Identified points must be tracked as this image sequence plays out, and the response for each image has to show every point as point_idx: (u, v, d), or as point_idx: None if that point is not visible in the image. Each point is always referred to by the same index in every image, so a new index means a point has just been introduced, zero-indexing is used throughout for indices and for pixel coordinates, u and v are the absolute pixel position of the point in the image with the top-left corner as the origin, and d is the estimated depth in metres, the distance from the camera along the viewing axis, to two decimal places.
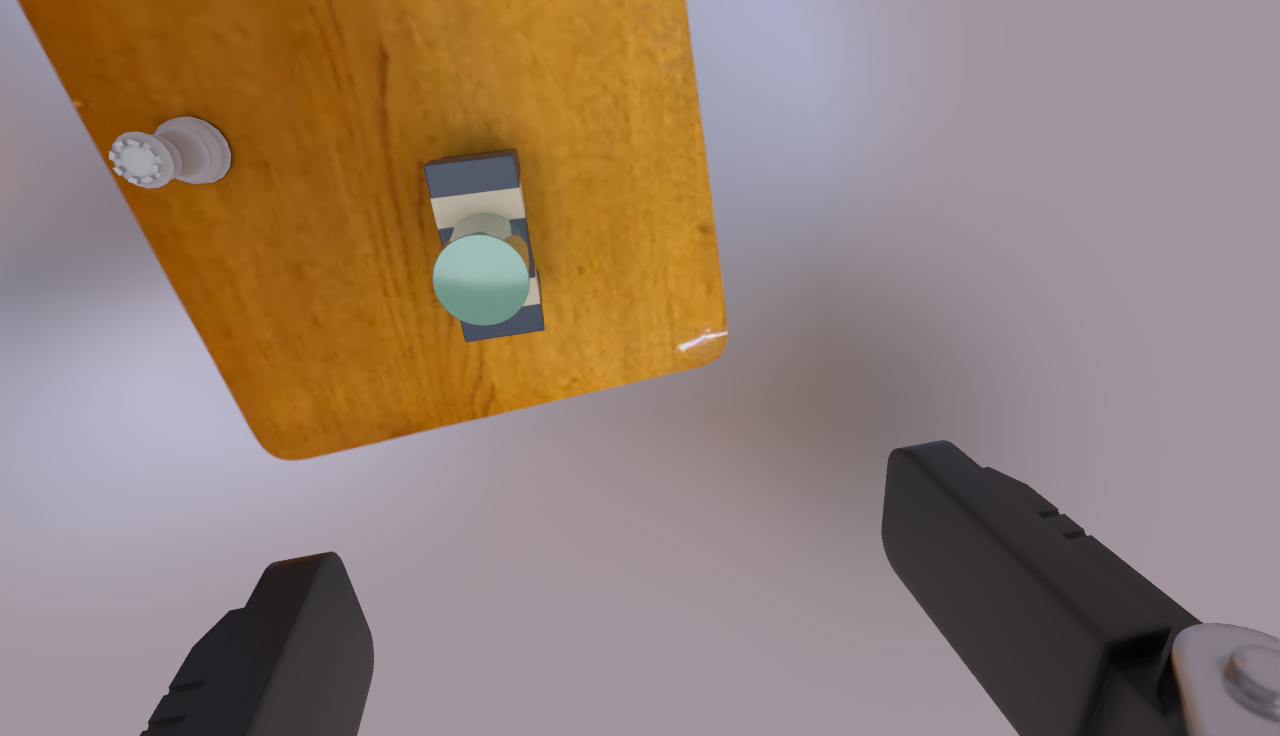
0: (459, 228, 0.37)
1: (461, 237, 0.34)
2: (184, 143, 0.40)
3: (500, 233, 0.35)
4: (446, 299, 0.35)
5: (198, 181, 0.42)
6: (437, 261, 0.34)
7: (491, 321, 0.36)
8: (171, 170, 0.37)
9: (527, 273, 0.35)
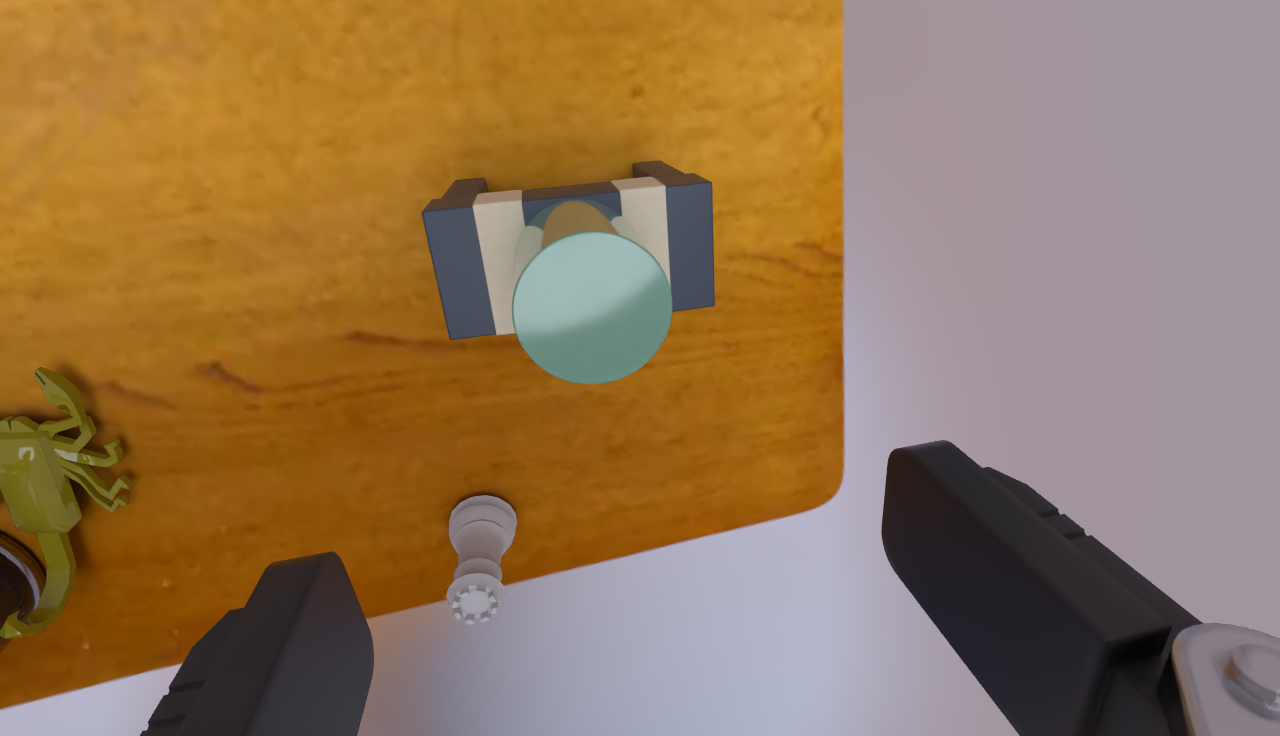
0: None
1: (518, 337, 0.20)
2: (466, 545, 0.37)
3: (519, 266, 0.21)
4: (621, 367, 0.21)
5: (511, 530, 0.40)
6: (558, 375, 0.21)
7: (666, 301, 0.21)
8: (484, 575, 0.35)
9: (582, 234, 0.19)
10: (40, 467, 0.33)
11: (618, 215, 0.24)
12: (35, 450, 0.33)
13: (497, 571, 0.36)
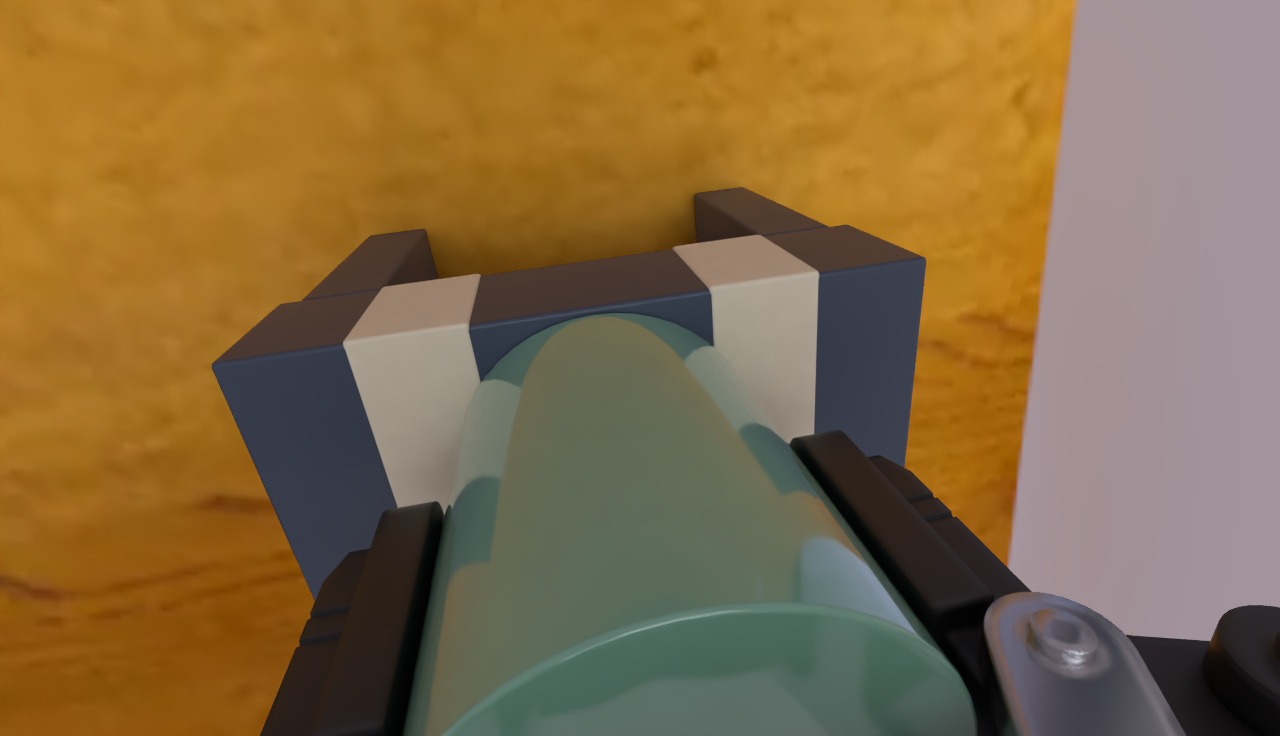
0: None
1: None
2: None
3: (426, 644, 0.06)
4: None
5: None
6: None
7: None
8: None
9: (669, 624, 0.04)
10: None
11: (715, 361, 0.09)
12: None
13: None
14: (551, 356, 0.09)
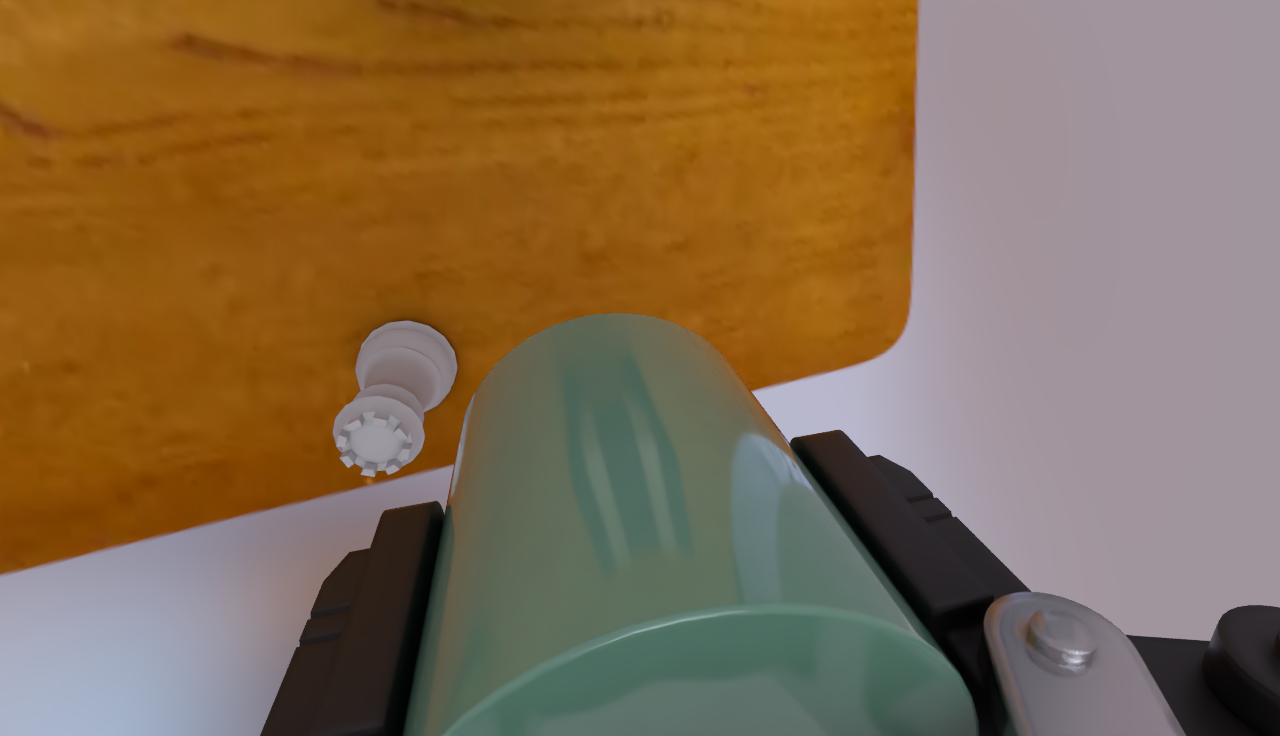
0: None
1: None
2: (372, 376, 0.25)
3: (426, 645, 0.06)
4: None
5: (446, 368, 0.28)
6: None
7: None
8: (389, 400, 0.23)
9: (669, 625, 0.04)
10: None
11: (716, 361, 0.09)
12: None
13: (415, 406, 0.24)
14: (551, 356, 0.09)
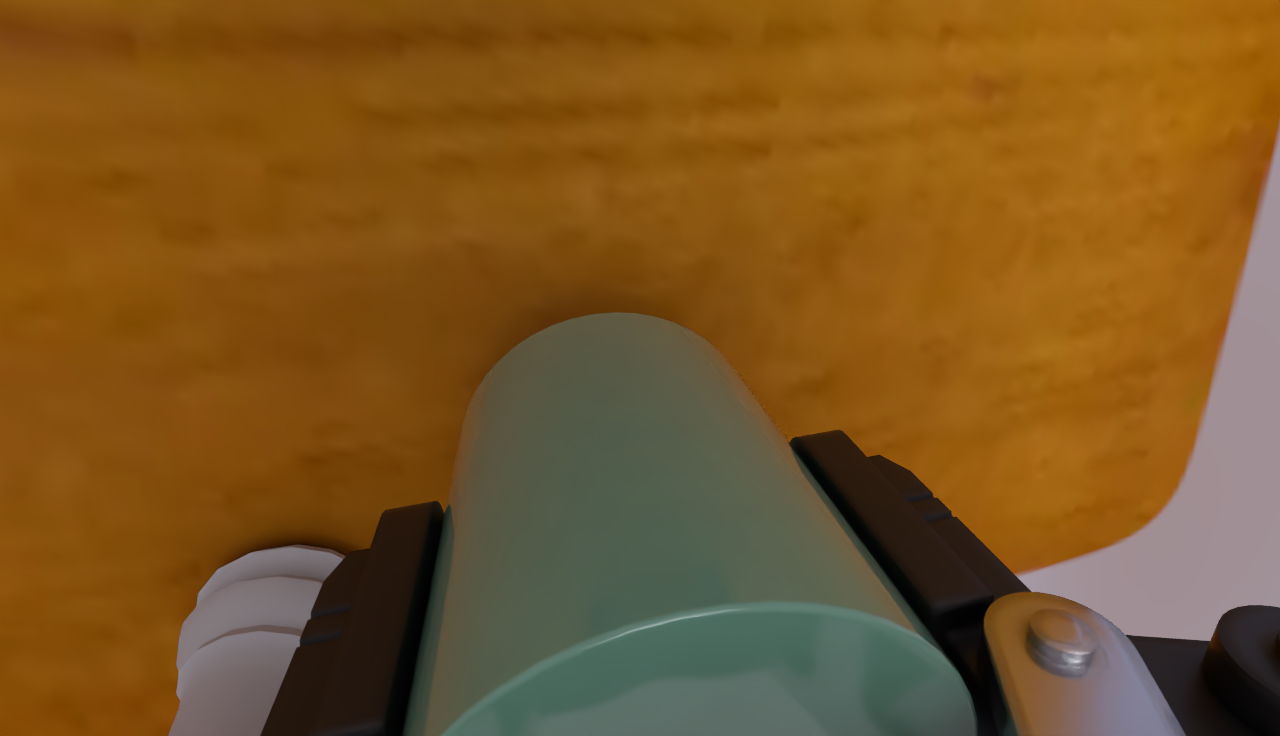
0: None
1: None
2: (181, 725, 0.11)
3: (426, 643, 0.06)
4: None
5: None
6: None
7: None
8: None
9: (669, 623, 0.04)
10: None
11: (715, 360, 0.09)
12: None
13: None
14: (551, 355, 0.09)
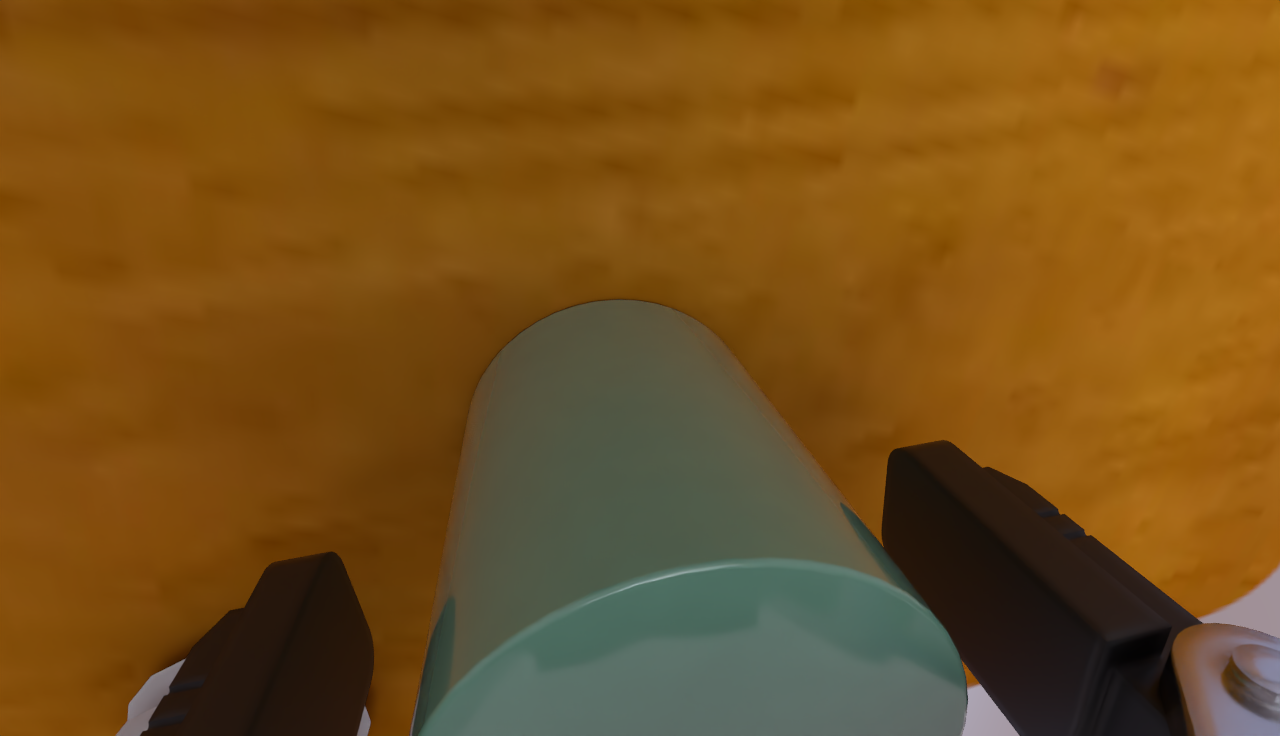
0: None
1: None
2: None
3: (439, 607, 0.06)
4: None
5: None
6: None
7: (947, 725, 0.06)
8: None
9: (672, 577, 0.05)
10: None
11: (716, 346, 0.10)
12: None
13: None
14: (556, 340, 0.09)
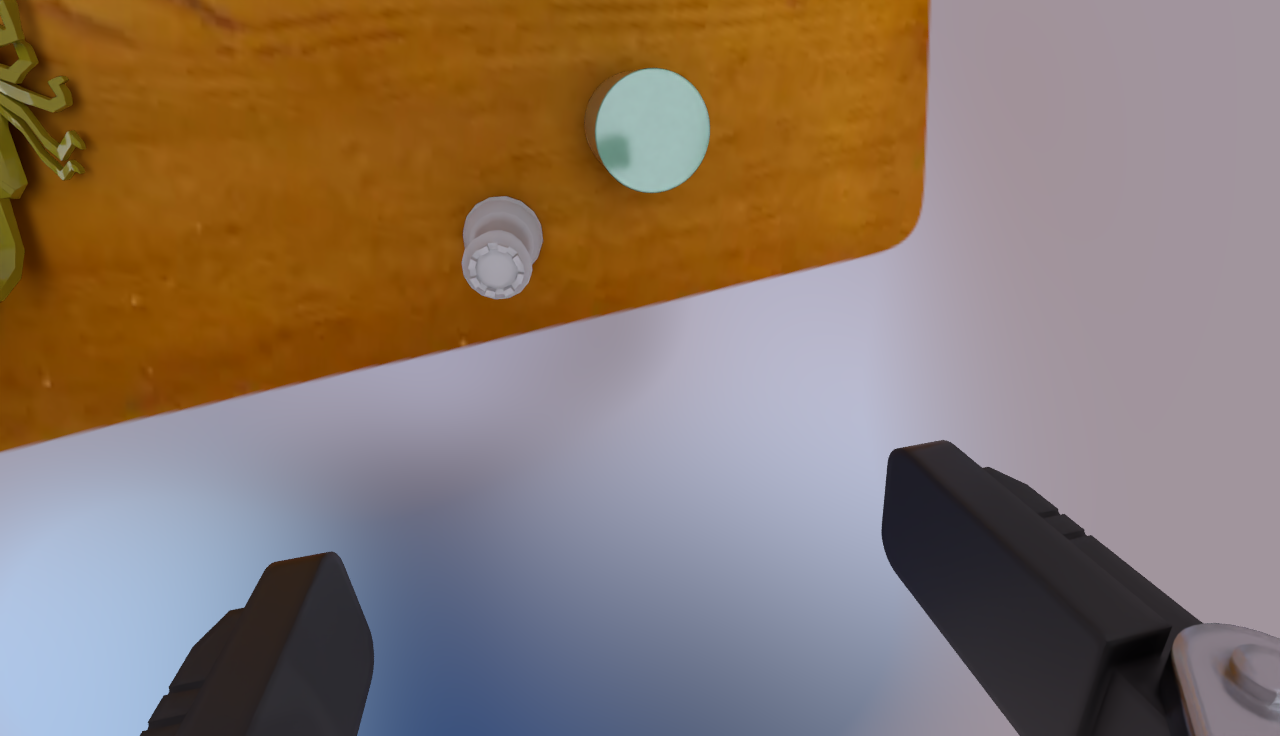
0: (595, 155, 0.31)
1: (598, 152, 0.28)
2: (484, 230, 0.31)
3: (598, 103, 0.29)
4: (672, 179, 0.29)
5: (537, 235, 0.34)
6: (626, 184, 0.29)
7: (705, 125, 0.28)
8: (507, 236, 0.28)
9: (646, 70, 0.27)
10: None
11: None
12: None
13: None
14: (617, 74, 0.32)
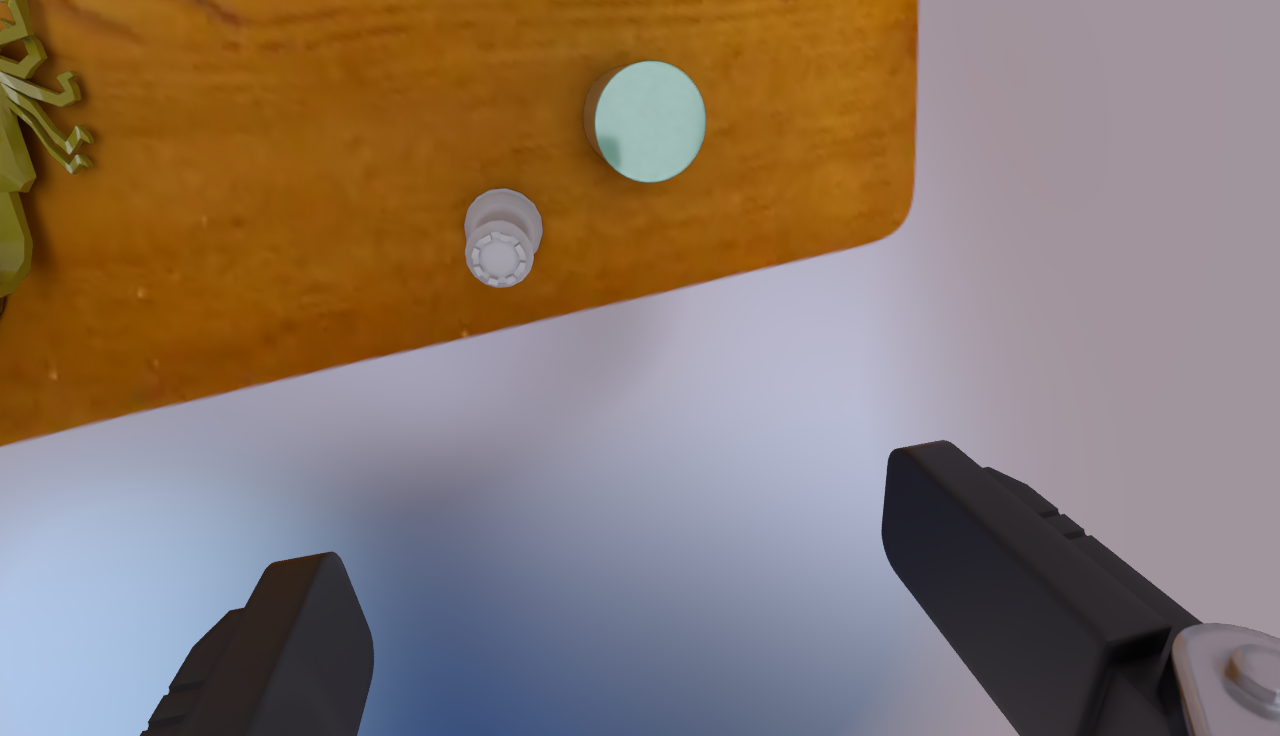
0: (594, 147, 0.32)
1: (598, 143, 0.29)
2: (485, 221, 0.32)
3: (596, 95, 0.29)
4: (670, 169, 0.30)
5: (537, 226, 0.35)
6: (625, 174, 0.30)
7: (701, 116, 0.29)
8: (509, 225, 0.29)
9: (644, 62, 0.28)
10: None
11: None
12: None
13: None
14: (615, 68, 0.32)
